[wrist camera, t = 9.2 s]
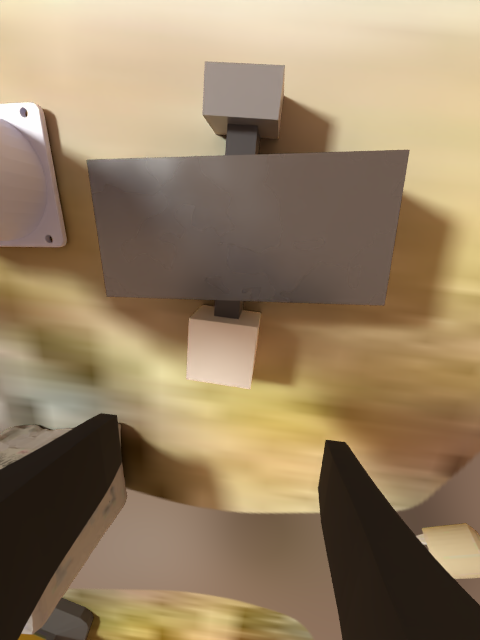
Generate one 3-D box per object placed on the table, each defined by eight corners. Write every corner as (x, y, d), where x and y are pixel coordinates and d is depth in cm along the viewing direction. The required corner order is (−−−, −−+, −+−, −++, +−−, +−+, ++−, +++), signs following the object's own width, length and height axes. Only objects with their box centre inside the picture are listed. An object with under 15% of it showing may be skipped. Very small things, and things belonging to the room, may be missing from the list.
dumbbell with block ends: (199, 358, 21) (186, 379, 18) (214, 91, 15) (199, 61, 13) (254, 366, 20) (250, 389, 17) (288, 95, 15) (290, 65, 12)
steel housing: (151, 278, 19) (106, 296, 14) (142, 179, 17) (86, 159, 12) (354, 282, 18) (384, 305, 13) (368, 174, 16) (409, 149, 11)
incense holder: (119, 409, 23) (1, 544, 13) (136, 489, 26) (46, 652, 16) (11, 404, 24) (-169, 524, 15) (37, 481, 27) (-102, 627, 17)
